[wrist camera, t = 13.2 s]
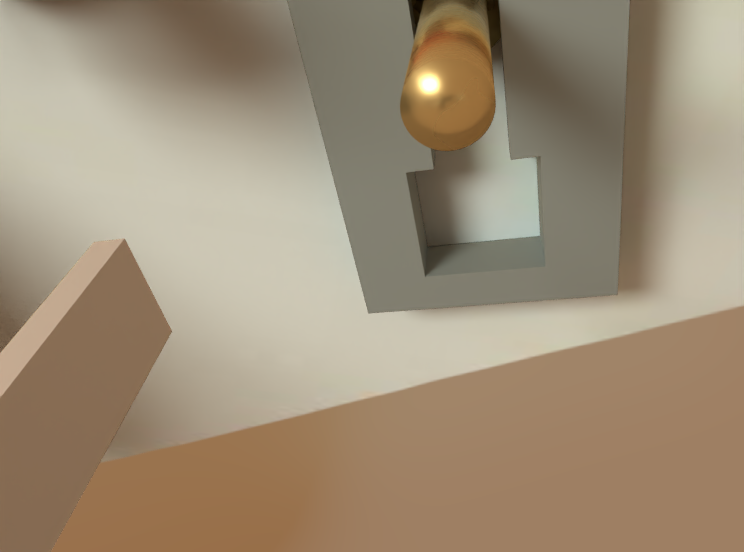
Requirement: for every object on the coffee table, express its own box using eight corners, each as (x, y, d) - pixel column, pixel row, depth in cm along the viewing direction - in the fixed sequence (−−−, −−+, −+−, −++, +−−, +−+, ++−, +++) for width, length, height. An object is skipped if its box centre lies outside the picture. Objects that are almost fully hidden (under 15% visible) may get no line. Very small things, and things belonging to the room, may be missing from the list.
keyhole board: (374, 282, 42) (368, 313, 39) (272, -134, 28) (253, -128, 26) (607, 263, 39) (617, 294, 36) (621, -218, 25) (638, -221, 22)
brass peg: (408, 64, 33) (377, 194, 22) (389, -52, 30) (342, 31, 18) (515, 47, 32) (541, 175, 20) (508, -76, 28) (534, -2, 17)
